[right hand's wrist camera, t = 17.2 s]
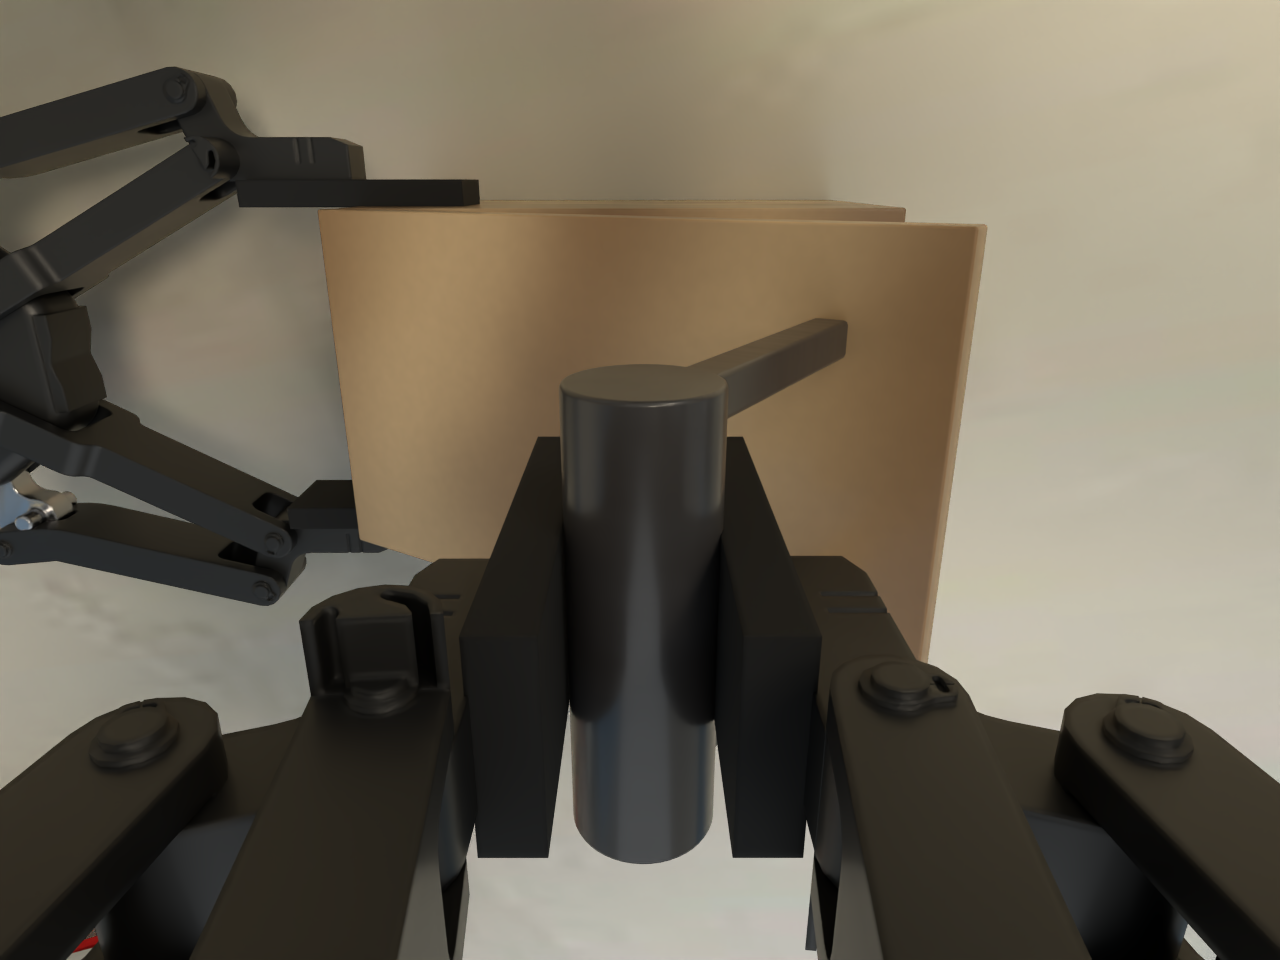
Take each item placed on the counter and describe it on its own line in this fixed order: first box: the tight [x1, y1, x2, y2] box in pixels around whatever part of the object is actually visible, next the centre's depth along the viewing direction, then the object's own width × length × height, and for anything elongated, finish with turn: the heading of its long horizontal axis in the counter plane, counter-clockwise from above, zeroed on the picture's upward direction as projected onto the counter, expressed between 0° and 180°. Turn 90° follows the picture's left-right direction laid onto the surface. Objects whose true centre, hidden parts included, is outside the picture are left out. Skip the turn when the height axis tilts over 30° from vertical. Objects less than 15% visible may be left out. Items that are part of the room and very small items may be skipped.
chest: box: [339, 200, 906, 222], centre depth 28 cm, size 16×10×9 cm, turn 90°
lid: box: [318, 209, 987, 864], centre depth 16 cm, size 16×10×8 cm
